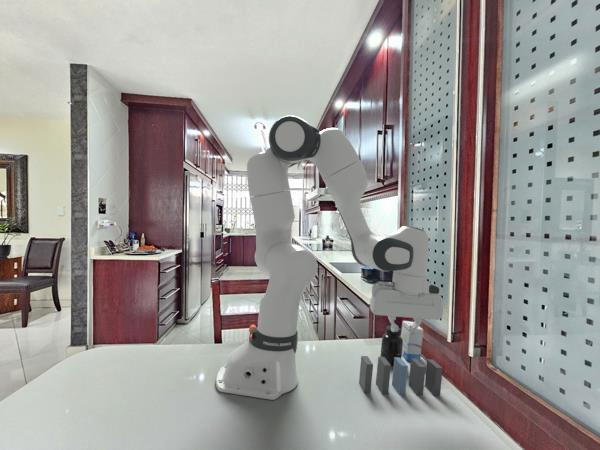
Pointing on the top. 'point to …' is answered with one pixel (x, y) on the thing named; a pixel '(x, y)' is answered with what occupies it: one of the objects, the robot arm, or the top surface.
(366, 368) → the domino
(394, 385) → the domino
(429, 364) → the domino
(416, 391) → the domino
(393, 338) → the supplement bottle
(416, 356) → the ink box
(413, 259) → the robot arm
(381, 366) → the domino
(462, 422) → the top surface
